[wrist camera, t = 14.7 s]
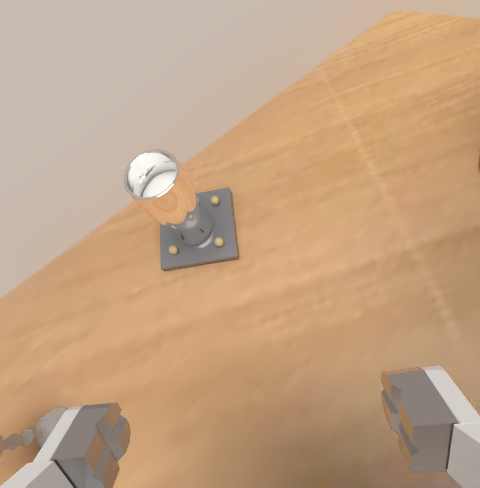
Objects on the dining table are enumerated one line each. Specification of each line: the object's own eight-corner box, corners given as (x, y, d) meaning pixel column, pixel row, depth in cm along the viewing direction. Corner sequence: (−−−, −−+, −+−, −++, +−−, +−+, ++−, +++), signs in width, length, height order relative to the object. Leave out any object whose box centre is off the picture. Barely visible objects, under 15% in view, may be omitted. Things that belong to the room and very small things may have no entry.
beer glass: (164, 237, 46) (109, 188, 32) (187, 202, 48) (144, 140, 34) (200, 255, 44) (158, 210, 30) (223, 217, 45) (192, 158, 32)
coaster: (230, 191, 48) (227, 183, 46) (238, 258, 44) (235, 253, 42) (162, 204, 50) (156, 197, 47) (164, 270, 45) (157, 266, 43)
